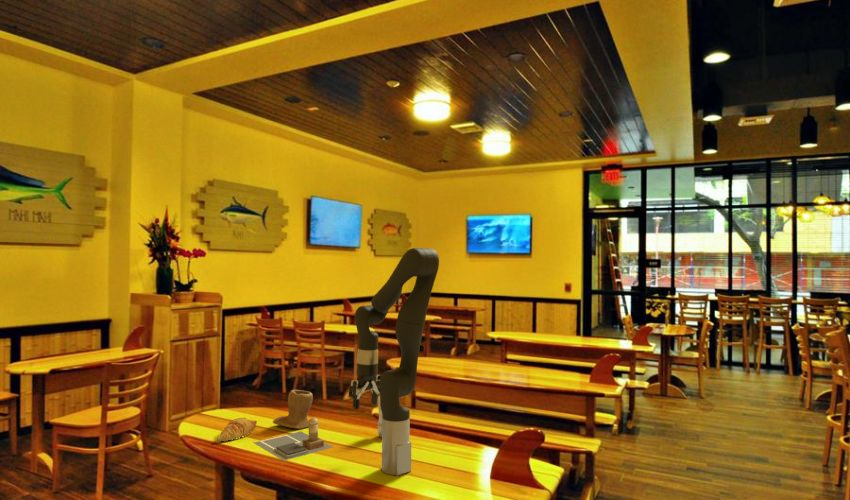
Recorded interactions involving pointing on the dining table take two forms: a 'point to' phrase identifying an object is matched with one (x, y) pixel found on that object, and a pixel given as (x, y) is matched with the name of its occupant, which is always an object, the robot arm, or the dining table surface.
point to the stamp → (313, 436)
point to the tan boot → (296, 410)
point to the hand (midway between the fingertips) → (365, 406)
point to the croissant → (237, 429)
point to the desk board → (289, 446)
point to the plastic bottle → (379, 419)
